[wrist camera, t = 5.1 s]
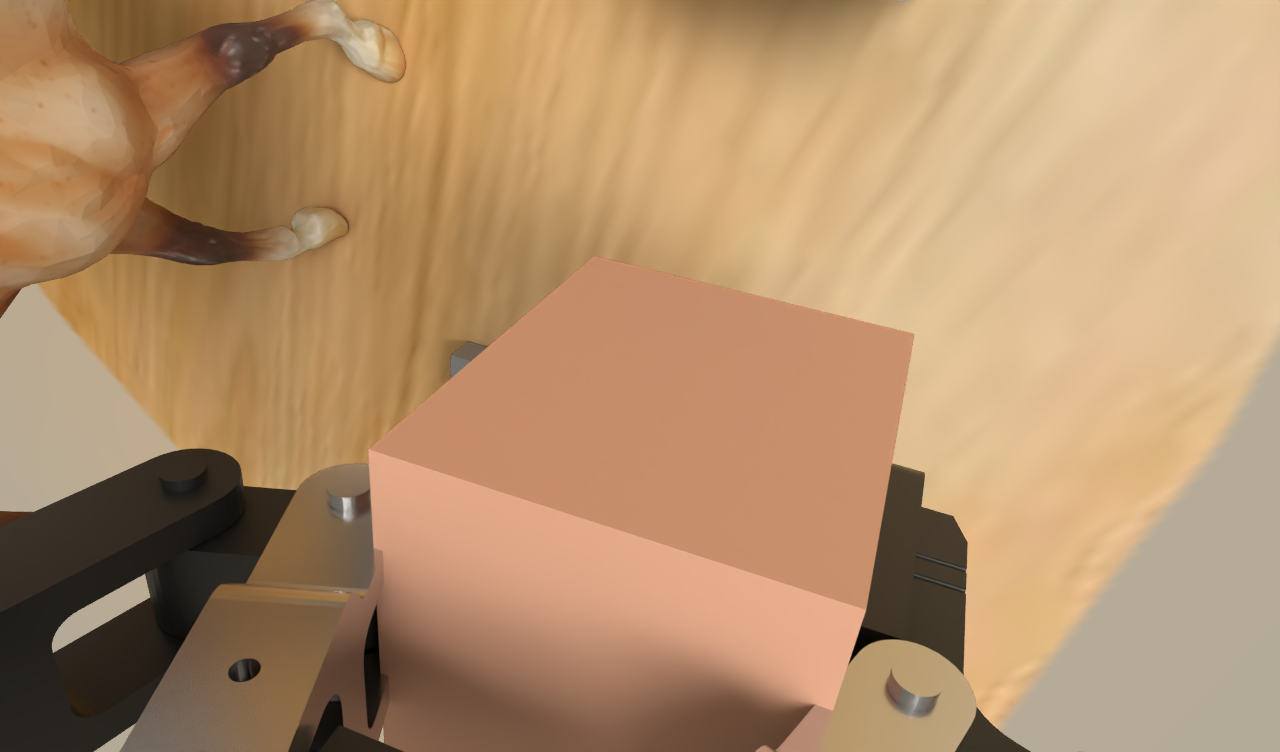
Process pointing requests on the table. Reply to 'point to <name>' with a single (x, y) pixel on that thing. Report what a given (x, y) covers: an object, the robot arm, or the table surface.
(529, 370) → the terracotta block
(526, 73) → the table surface
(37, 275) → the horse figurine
